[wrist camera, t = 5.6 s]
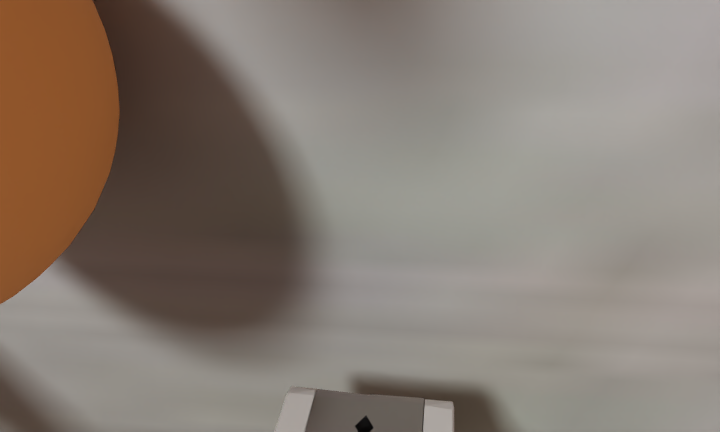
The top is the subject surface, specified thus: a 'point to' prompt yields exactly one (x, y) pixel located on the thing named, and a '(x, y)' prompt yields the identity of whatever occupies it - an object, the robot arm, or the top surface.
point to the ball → (51, 130)
